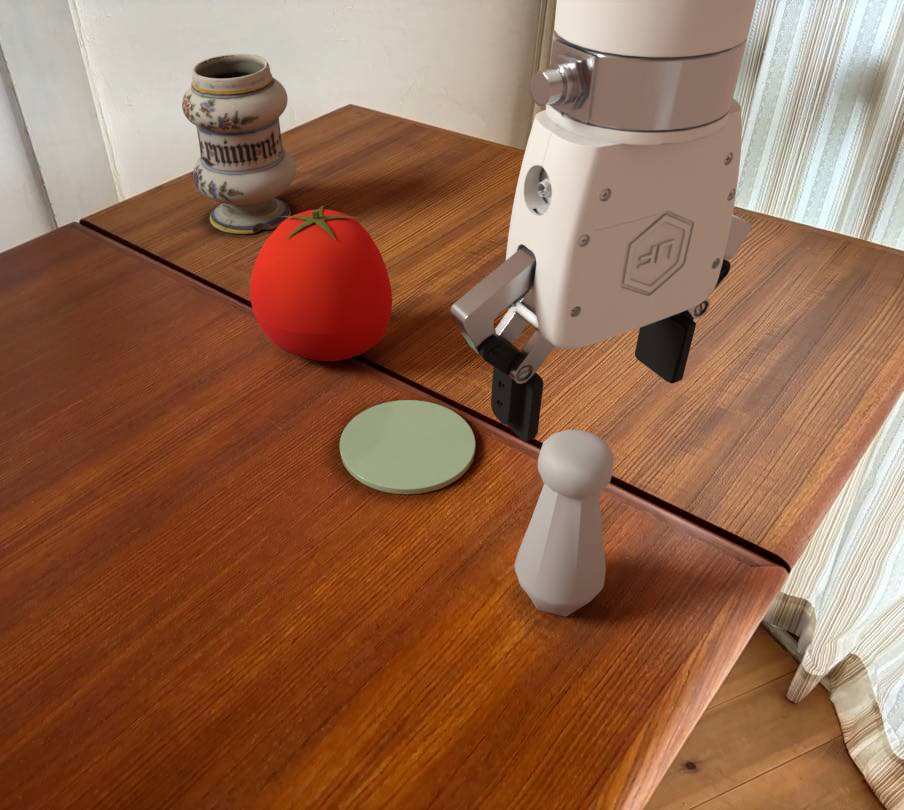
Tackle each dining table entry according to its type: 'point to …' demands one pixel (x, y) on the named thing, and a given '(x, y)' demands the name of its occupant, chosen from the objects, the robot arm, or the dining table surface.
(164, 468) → the dining table surface
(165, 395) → the dining table surface
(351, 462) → the coaster
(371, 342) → the tomato
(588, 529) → the salt shaker
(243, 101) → the apothecary jar
